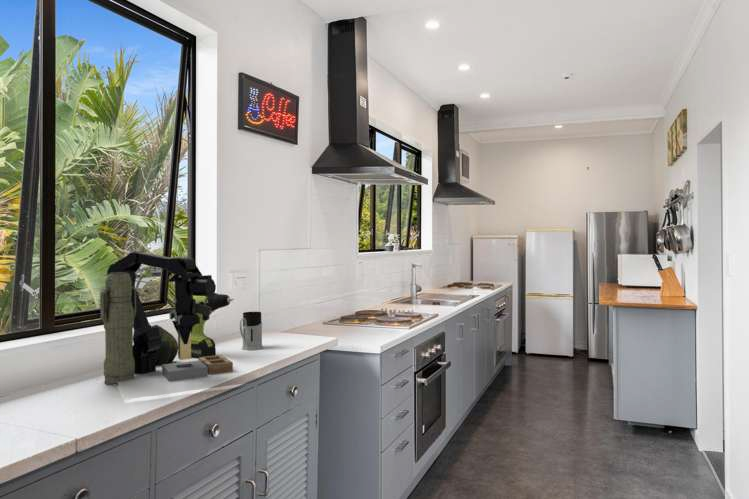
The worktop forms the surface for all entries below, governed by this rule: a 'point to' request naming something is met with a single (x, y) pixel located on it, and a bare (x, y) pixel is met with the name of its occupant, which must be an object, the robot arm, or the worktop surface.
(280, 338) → the worktop surface
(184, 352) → the block
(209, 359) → the walnut rack
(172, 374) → the socket block
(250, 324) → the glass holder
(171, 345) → the squash
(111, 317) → the olive carved statue
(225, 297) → the cordless drill
